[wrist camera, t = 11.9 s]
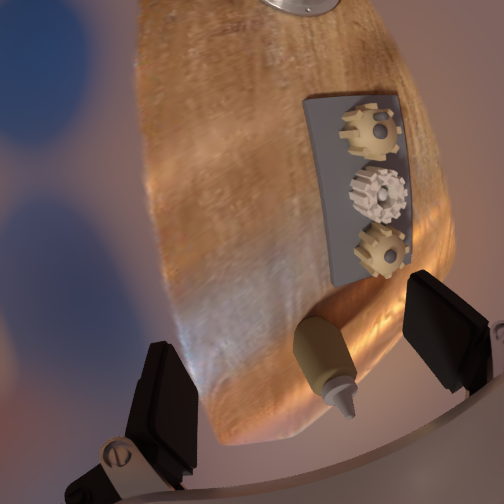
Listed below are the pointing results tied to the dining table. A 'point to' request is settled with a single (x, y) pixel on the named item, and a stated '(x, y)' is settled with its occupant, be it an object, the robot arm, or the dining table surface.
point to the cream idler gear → (368, 189)
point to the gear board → (344, 170)
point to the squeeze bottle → (326, 363)
